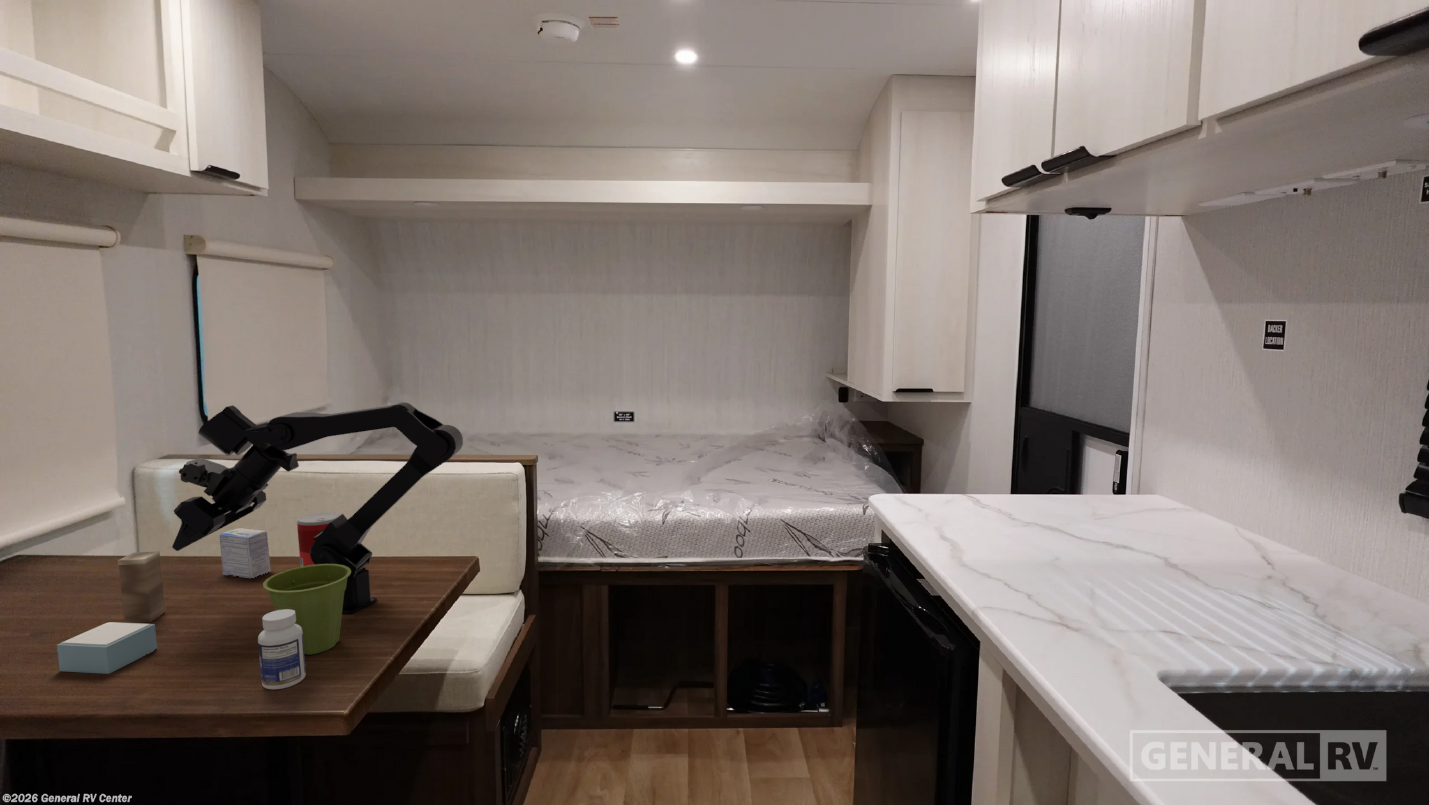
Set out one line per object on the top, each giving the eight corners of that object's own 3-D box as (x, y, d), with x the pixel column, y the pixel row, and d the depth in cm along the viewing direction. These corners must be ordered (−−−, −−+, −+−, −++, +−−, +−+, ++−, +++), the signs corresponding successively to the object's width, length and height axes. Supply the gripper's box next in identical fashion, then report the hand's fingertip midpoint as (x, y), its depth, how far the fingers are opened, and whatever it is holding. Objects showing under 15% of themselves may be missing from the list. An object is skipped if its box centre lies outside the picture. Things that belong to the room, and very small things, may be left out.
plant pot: (249, 659, 110) (243, 586, 109) (312, 627, 121) (307, 561, 120) (314, 668, 107) (308, 593, 106) (372, 634, 118) (368, 566, 117)
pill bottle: (273, 673, 106) (268, 607, 104) (312, 671, 106) (308, 606, 105) (253, 692, 100) (247, 623, 99) (294, 690, 101) (289, 621, 100)
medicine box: (271, 572, 148) (268, 530, 147) (251, 579, 144) (247, 536, 143) (242, 568, 151) (239, 527, 150) (222, 575, 147) (218, 533, 146)
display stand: (157, 649, 114) (154, 623, 113) (109, 673, 106) (105, 646, 105) (111, 646, 115) (108, 621, 114) (59, 671, 107) (56, 643, 106)
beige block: (165, 612, 128) (159, 551, 127) (151, 622, 124) (144, 559, 123) (139, 614, 127) (133, 552, 126) (124, 623, 123) (117, 560, 122)
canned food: (326, 577, 145) (322, 523, 144) (291, 575, 147) (287, 521, 145) (352, 564, 152) (349, 513, 151) (319, 562, 154) (315, 511, 153)
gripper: (240, 433, 134) (182, 497, 134) (179, 452, 115) (112, 526, 115) (291, 473, 136) (234, 536, 136) (239, 497, 117) (173, 570, 117)
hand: (191, 540), depth 126 cm, fingers open, 9 cm apart
